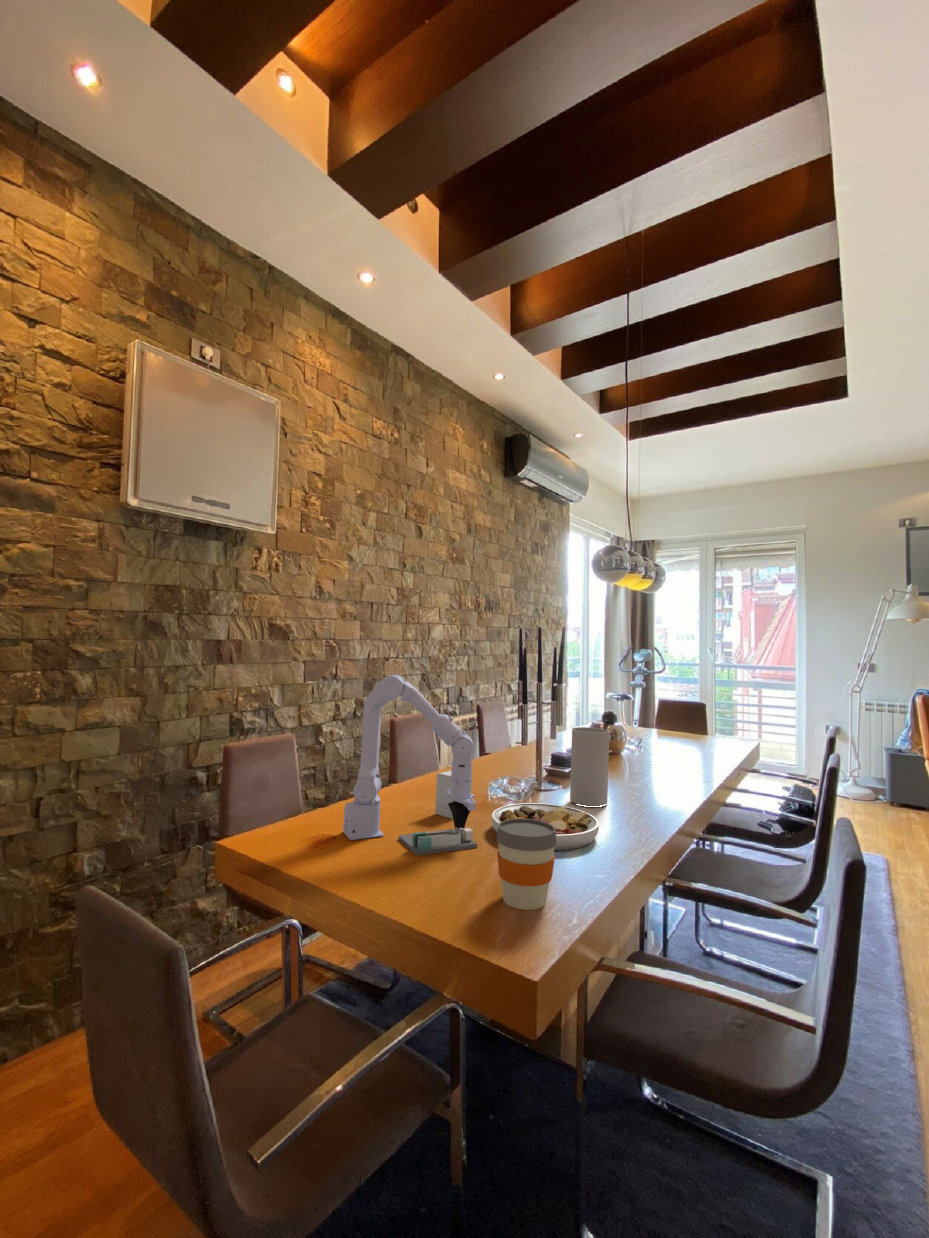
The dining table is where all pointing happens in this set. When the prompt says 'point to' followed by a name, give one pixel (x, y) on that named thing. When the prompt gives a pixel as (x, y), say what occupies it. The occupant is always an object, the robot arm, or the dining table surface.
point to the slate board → (464, 845)
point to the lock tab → (467, 834)
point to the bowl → (554, 822)
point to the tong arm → (417, 834)
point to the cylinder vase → (589, 766)
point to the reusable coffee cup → (525, 861)
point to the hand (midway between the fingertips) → (459, 829)
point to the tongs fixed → (440, 840)
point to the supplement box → (443, 794)
